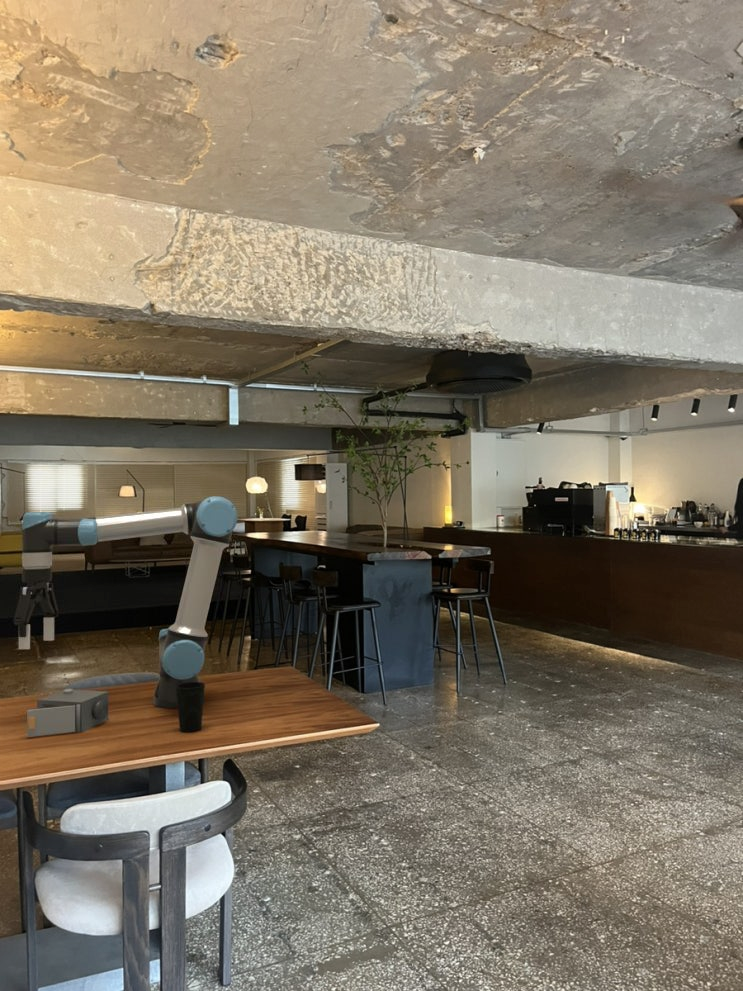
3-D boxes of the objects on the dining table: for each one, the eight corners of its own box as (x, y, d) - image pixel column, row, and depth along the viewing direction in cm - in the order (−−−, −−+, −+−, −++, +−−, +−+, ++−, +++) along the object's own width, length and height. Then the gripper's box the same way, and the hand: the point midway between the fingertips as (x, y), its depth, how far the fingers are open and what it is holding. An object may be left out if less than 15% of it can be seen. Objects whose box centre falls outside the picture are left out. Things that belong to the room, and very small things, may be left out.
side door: (75, 730, 193) (75, 705, 194) (75, 732, 192) (74, 706, 192) (27, 736, 189) (27, 710, 189) (27, 737, 188) (27, 711, 188)
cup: (178, 735, 190) (177, 689, 190) (173, 727, 197) (173, 683, 197) (207, 731, 193) (207, 686, 193) (202, 724, 200) (202, 680, 200)
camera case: (113, 720, 205) (113, 689, 205) (84, 733, 192) (84, 700, 192) (66, 717, 209) (65, 686, 209) (34, 730, 196) (34, 697, 196)
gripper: (45, 564, 213) (45, 637, 212) (-1, 571, 188) (-2, 653, 187) (70, 564, 212) (70, 636, 212) (27, 570, 187) (27, 652, 187)
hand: (37, 644), depth 199 cm, fingers open, 13 cm apart
